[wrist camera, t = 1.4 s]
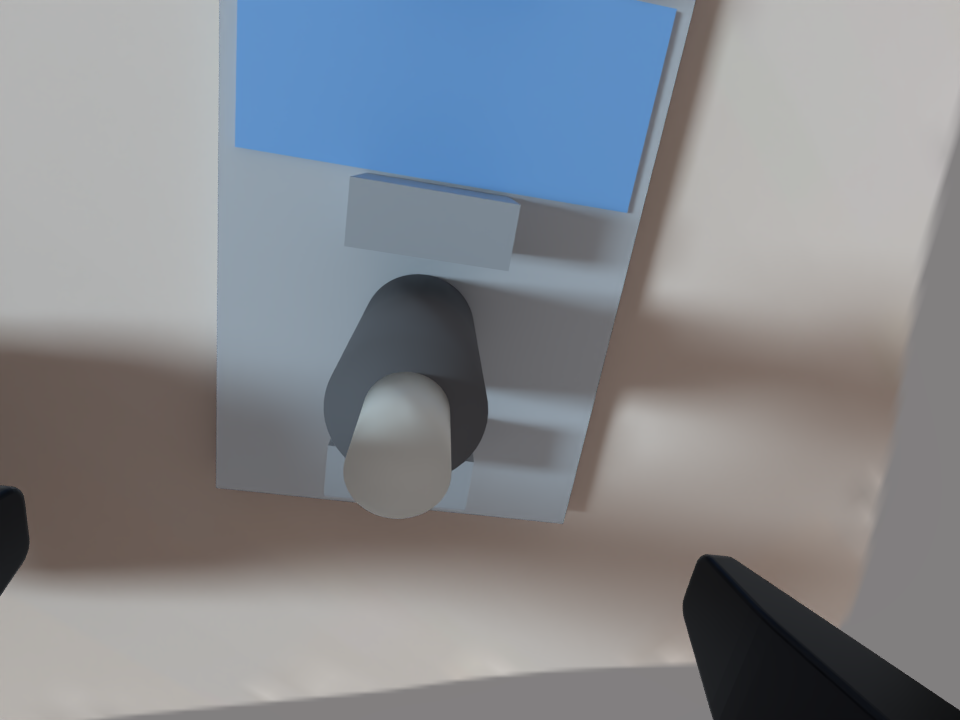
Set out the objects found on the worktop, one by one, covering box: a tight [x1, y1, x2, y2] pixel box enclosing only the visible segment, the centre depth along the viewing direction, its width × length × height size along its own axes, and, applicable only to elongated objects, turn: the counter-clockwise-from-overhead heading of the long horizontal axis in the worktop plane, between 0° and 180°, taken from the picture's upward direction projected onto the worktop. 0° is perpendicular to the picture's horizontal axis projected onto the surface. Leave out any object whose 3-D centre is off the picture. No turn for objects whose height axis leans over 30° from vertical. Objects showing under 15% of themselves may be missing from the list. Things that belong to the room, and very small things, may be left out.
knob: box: [324, 274, 488, 519], centre depth 13 cm, size 3×3×8 cm
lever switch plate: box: [216, 0, 696, 524], centre depth 15 cm, size 12×20×4 cm, turn 171°
